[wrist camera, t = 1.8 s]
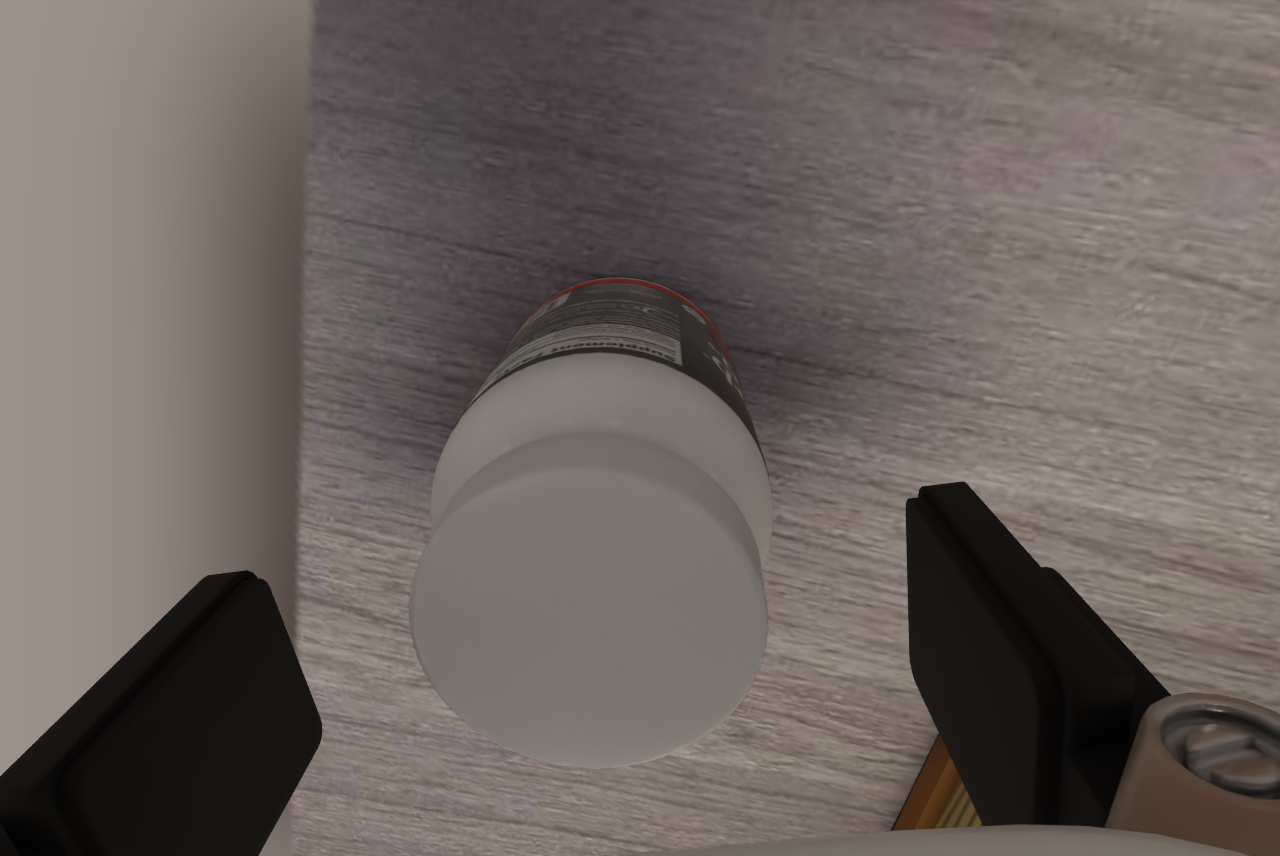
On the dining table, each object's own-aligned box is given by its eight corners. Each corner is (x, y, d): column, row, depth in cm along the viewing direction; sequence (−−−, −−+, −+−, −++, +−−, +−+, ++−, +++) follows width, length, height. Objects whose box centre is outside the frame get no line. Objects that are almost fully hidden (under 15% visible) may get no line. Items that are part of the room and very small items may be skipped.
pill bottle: (737, 480, 20) (808, 796, 11) (524, 494, 20) (412, 812, 11) (730, 261, 18) (810, 419, 8) (490, 280, 18) (314, 452, 9)
